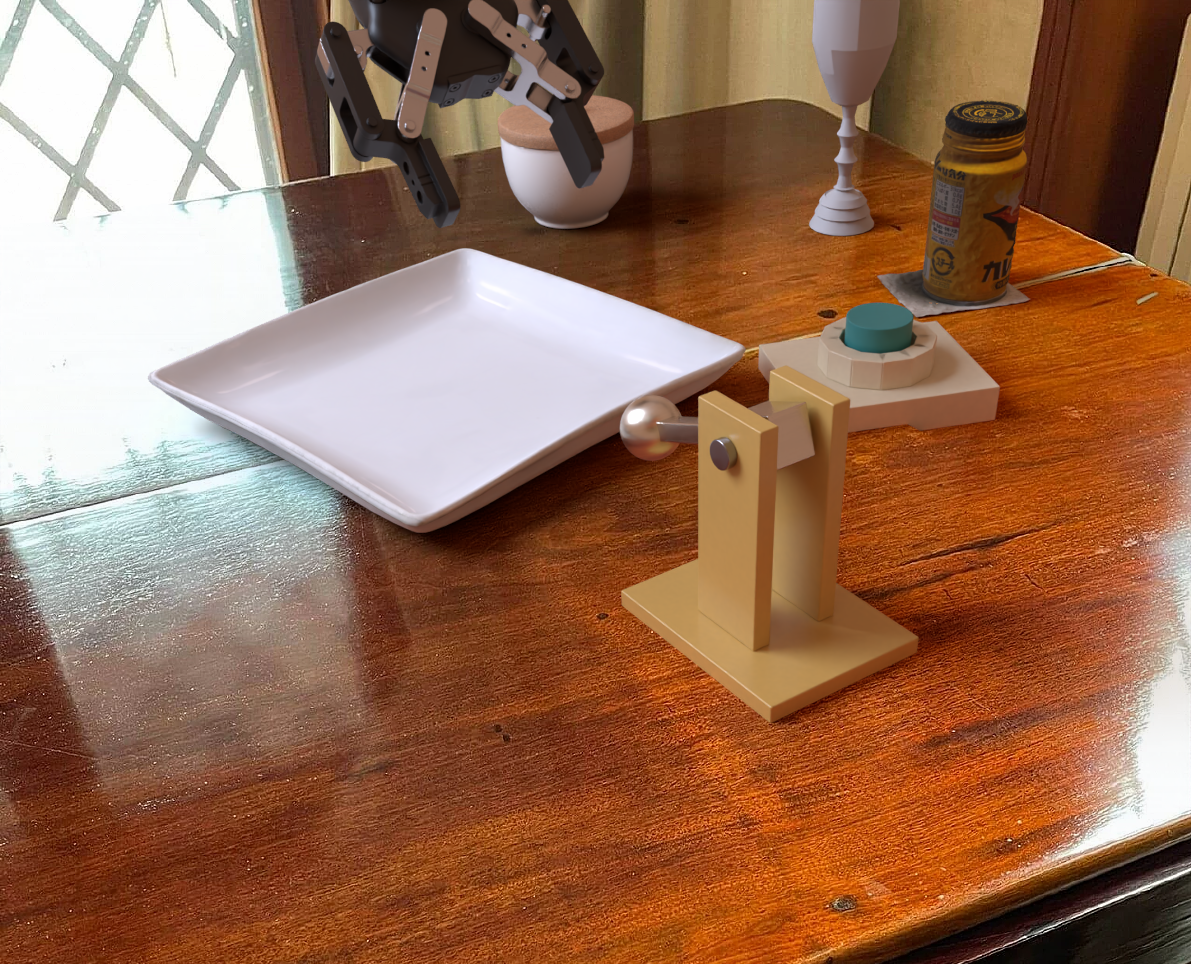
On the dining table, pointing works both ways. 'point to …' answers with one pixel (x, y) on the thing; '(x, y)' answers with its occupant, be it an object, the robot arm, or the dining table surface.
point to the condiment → (970, 214)
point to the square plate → (444, 381)
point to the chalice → (850, 93)
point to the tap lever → (660, 428)
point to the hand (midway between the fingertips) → (522, 198)
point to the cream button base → (893, 378)
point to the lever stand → (770, 562)
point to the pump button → (878, 328)
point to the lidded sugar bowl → (545, 174)
